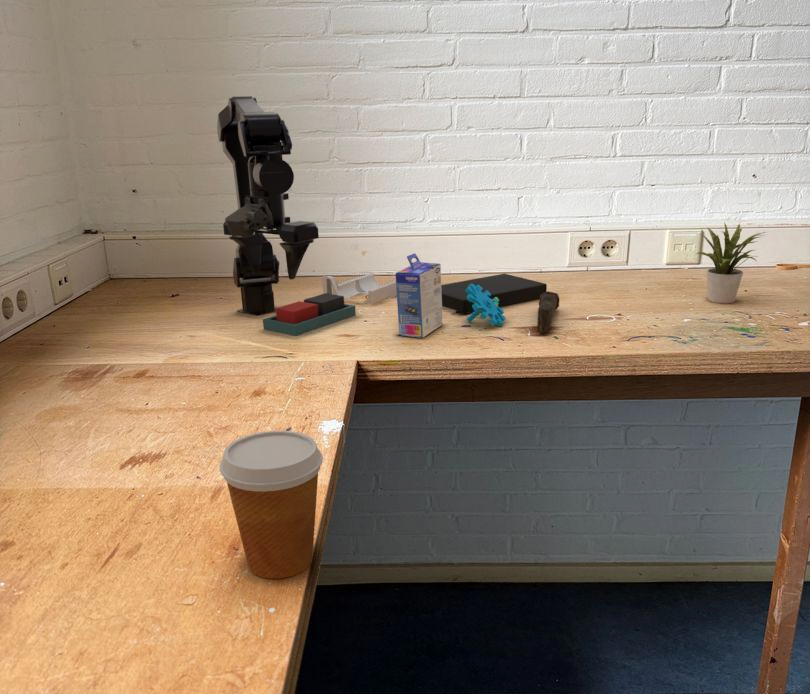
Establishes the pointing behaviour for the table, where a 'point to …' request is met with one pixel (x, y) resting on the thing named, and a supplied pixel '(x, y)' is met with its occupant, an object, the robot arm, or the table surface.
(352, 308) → the tray
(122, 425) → the table surface
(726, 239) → the house plant
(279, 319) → the red rectangular block
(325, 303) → the dark grey block
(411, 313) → the ink cartridge box
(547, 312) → the hand tool
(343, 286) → the skate ramp
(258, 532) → the disposable coffee cup
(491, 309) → the blue coral piece
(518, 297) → the external hard drive
